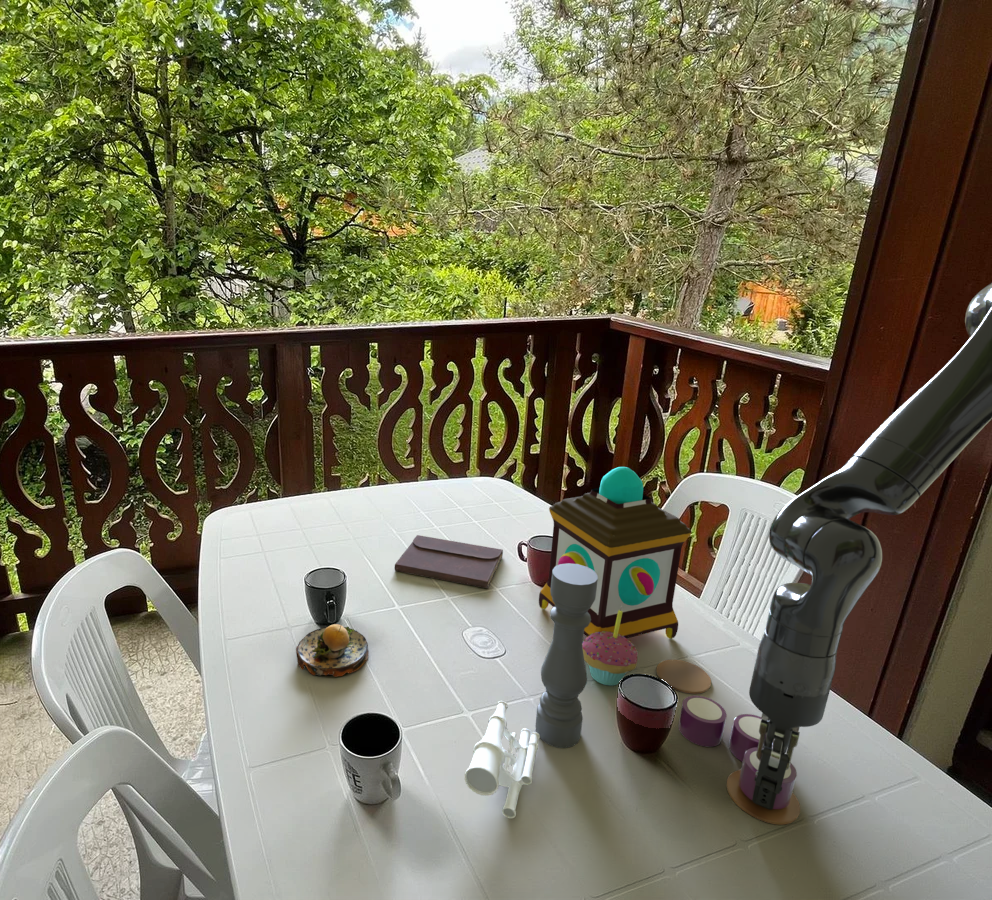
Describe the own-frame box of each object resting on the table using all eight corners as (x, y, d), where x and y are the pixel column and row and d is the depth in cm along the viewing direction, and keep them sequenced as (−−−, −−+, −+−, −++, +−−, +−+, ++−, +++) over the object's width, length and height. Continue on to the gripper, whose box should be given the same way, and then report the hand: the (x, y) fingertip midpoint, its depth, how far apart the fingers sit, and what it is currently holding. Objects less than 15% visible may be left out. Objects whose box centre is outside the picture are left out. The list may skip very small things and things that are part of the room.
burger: (358, 629, 113) (358, 592, 110) (377, 670, 102) (377, 630, 100) (291, 641, 109) (289, 603, 107) (303, 685, 99) (301, 643, 96)
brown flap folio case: (487, 589, 126) (487, 580, 126) (394, 571, 133) (394, 562, 132) (502, 556, 140) (503, 548, 139) (417, 541, 146) (417, 533, 146)
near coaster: (801, 790, 80) (802, 788, 80) (797, 836, 74) (798, 834, 74) (731, 762, 84) (731, 759, 84) (721, 803, 78) (722, 800, 78)
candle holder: (526, 732, 89) (541, 574, 82) (549, 709, 94) (564, 557, 86) (566, 755, 85) (586, 591, 78) (588, 730, 90) (608, 573, 82)
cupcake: (595, 653, 107) (603, 590, 103) (644, 676, 101) (654, 611, 97) (568, 676, 101) (575, 610, 97) (618, 702, 95) (628, 633, 92)
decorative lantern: (613, 586, 128) (631, 444, 118) (688, 641, 110) (717, 479, 101) (527, 605, 121) (539, 455, 112) (593, 667, 103) (614, 495, 94)
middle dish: (777, 748, 87) (783, 724, 86) (773, 775, 82) (779, 750, 81) (731, 731, 90) (736, 707, 89) (725, 756, 85) (730, 731, 84)
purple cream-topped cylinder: (724, 728, 90) (729, 705, 89) (718, 753, 86) (723, 728, 85) (682, 712, 93) (687, 689, 92) (674, 735, 89) (678, 711, 88)
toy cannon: (514, 744, 89) (544, 730, 87) (495, 826, 77) (529, 812, 75) (478, 702, 89) (506, 686, 87) (452, 776, 77) (485, 760, 75)
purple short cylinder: (791, 785, 79) (798, 759, 78) (788, 817, 75) (795, 790, 74) (741, 765, 82) (747, 740, 81) (735, 794, 78) (741, 768, 77)
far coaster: (714, 673, 102) (715, 671, 102) (705, 701, 96) (706, 698, 96) (662, 655, 106) (662, 653, 106) (650, 680, 100) (650, 678, 100)
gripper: (762, 632, 81) (739, 739, 86) (747, 694, 70) (722, 813, 75) (832, 652, 77) (804, 764, 82) (829, 722, 66) (796, 846, 71)
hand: (765, 787), depth 79 cm, fingers closed on purple short cylinder, 5 cm apart
